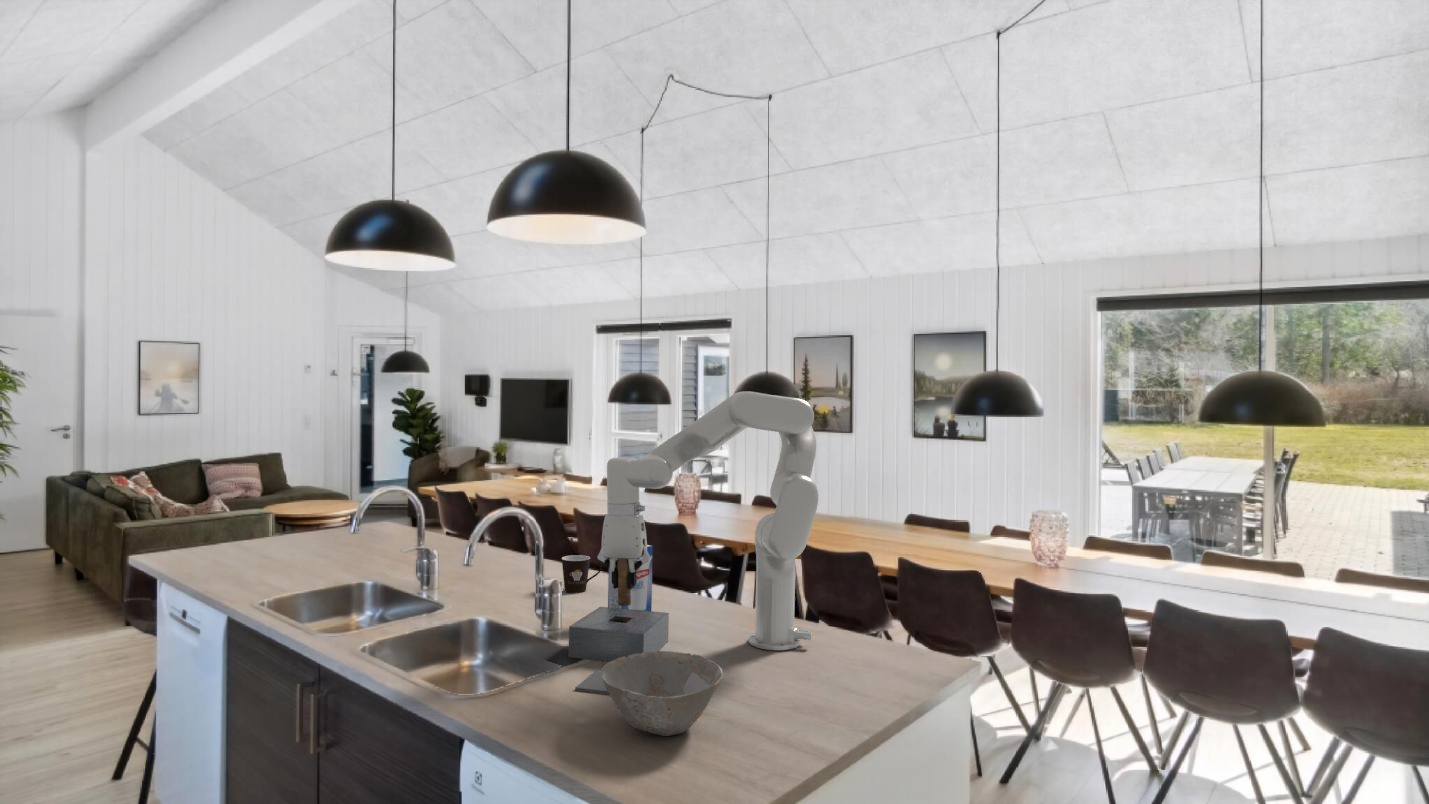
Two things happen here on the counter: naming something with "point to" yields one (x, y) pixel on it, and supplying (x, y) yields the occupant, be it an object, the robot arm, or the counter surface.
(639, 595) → the milk carton
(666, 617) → the box
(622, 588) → the dowel
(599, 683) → the mat
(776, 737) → the counter surface
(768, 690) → the counter surface
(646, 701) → the ceramic bowl
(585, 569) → the coffee mug
